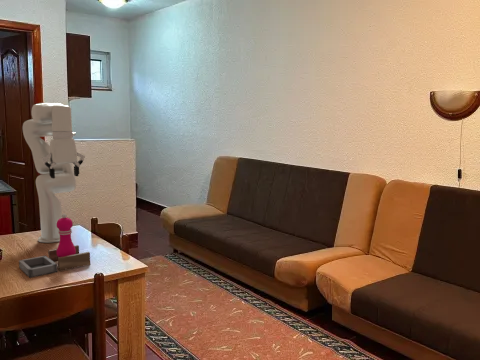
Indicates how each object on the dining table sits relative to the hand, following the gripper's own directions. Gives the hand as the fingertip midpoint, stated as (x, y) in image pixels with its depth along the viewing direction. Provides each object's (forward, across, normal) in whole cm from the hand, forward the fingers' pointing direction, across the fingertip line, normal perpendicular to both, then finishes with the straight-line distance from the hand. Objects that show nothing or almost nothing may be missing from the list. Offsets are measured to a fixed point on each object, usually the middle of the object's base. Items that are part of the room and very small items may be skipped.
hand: (64, 177), depth 192 cm
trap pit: (+33, +16, +12) cm, 39 cm away
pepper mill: (+33, +5, +12) cm, 35 cm away
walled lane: (+33, +4, +12) cm, 36 cm away
